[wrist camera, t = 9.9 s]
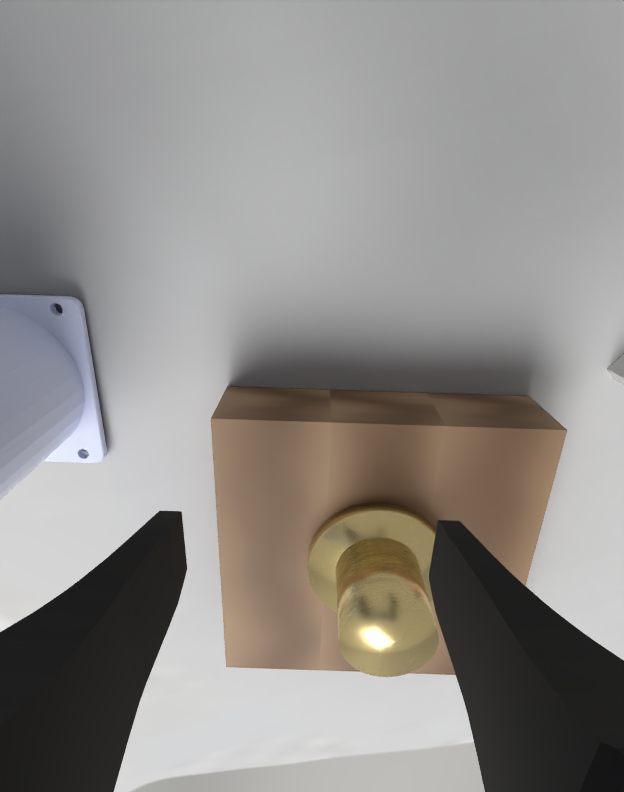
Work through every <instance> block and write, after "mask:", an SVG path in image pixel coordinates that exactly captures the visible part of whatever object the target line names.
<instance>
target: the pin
mask: <svg viewBox="0 0 624 792" xmlns="http://www.w3.org/2000/svg"><path fill="white" fill-rule="evenodd" d="M435 534H436V530H435V528H434V527H433V525H432V524H431V523H430V522H429V521H428V520H427V519H426V518H425V517H423V516H422V515H421V514H419V513H417V512H416V511H414V510H412V509H410V508H407V507H405V506H401V505H398V504H393V503H386V502H369V503H363V504H358V505H354V506H351V507H348V508H346V509H343V510H341V511H340V512H338V513H336V514H334V515H333V516H331V517H330V518H329V519H327V520H326V521H325V522H324V523H323V524H322V525H321V526H320V528H319V529H318V530H317V532H316V533H315V535H314V536H313V539H312V541H311V544H310V547H309V554H308V577H309V581H310V585H311V587H312V589H313V591H314V593H315V594H316V596H317V597H318V598H319V600H320V601H321V602H322V603H323V604H324V605H326V606H327V607H328V608H329V609H331V610H332V611H334V612H336V613H337V614H338V636H339V648H340V652H341V654H342V656H343V657H344V659H345V660H346V661H347V662H348V663H349V664H350V665H351V666H352V667H354V668H355V669H357V670H359V671H361V672H363V673H366V674H369V675H373V676H381V677H392V676H400V675H404V674H407V673H410V672H413V671H415V670H417V669H419V668H421V667H422V666H424V665H425V664H426V663H427V662H428V661H429V660H430V659H431V658H432V657H433V655H434V654H435V652H436V650H437V648H438V644H439V635H438V631H437V627H436V624H435V620H434V617H433V613H432V610H431V606H430V601H431V600H433V598H432V592H431V587H430V582H429V571H430V565H431V559H432V553H433V547H434V540H435Z"/></svg>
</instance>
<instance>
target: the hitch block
mask: <svg viewBox="0 0 624 792" xmlns="http://www.w3.org/2000/svg"><path fill="white" fill-rule="evenodd" d="M211 428H212V444H213V460H214V476H215V493H216V509H217V525H218V541H219V557H220V574H221V590H222V606H223V622H224V639H225V655H226V667H240V668H269V669H299V670H328V671H358V672H361V671H359V670H357V669H355V668H354V667H352V666H351V665H350V664H349V663H348V662H347V661H346V660H345V659H344V657H343V656H342V654H341V652H340V648H339V636H338V614H337V613H336V612H334V611H332V610H331V609H329V608H328V607H327V606H326V605H324V604H323V603H322V602H321V601H320V600H319V598H318V597H317V596H316V594H315V593H314V591H313V589H312V587H311V585H310V581H309V577H308V554H309V547H310V544H311V541H312V539H313V536H314V535H315V533H316V532H317V530H318V529H319V528H320V526H321V525H322V524H323V523H324V522H325V521H326V520H327V519H329V518H330V517H331V516H333V515H334V514H336V513H338V512H340V511H341V510H343V509H346V508H348V507H351V506H354V505H358V504H363V503H369V502H386V503H393V504H398V505H401V506H405V507H407V508H410V509H412V510H414V511H416V512H417V513H419V514H421V515H422V516H423V517H425V518H426V519H427V520H428V521H429V522H430V523H431V524H432V525H433V527H434V528H435V530H436V528H437V522H438V520H453V521H460V522H461V523H462V524H463V525H464V526H465V527H466V528H467V529H468V530H469V531H470V532H471V533H472V534H473V535H474V536H475V537H476V538H477V539H478V540H479V541H480V542H481V543H482V544H483V545H484V546H485V547H486V549H487V550H488V551H489V552H490V553H491V554H492V555H493V556H494V557H495V558H496V559H497V560H498V561H499V562H500V563H501V564H502V565H503V566H504V567H505V568H506V569H507V570H509V571H510V572H511V573H512V574H513V575H514V576H515V577H516V578H517V579H518V580H519V581H520V582H521V583H522V584H523V585H526V581H527V577H528V574H529V570H530V566H531V562H532V559H533V555H534V551H535V548H536V544H537V540H538V537H539V533H540V529H541V525H542V522H543V518H544V514H545V511H546V507H547V503H548V499H549V496H550V492H551V488H552V485H553V481H554V477H555V473H556V470H557V466H558V462H559V459H560V455H561V451H562V448H563V444H564V440H565V436H566V433H567V430H566V429H565V428H564V427H563V426H562V425H561V424H560V423H559V422H557V421H556V420H555V419H554V418H553V417H552V416H551V415H550V414H549V413H547V412H546V411H545V410H544V409H543V408H542V407H541V406H540V405H538V404H537V403H536V402H535V401H534V400H533V399H532V398H531V397H529V396H506V395H475V394H444V393H413V392H382V391H350V390H319V389H288V388H257V387H227V389H226V390H225V392H224V394H223V396H222V398H221V400H220V402H219V404H218V406H217V408H216V410H215V412H214V414H213V416H212V418H211ZM430 606H431V610H432V613H433V617H434V620H435V624H436V627H437V631H438V635H439V644H438V648H437V650H436V652H435V654H434V655H433V657H432V658H431V659H430V660H429V661H428V662H427V663H426V664H425V665H424V666H422V667H421V668H419V669H417V670H415V671H413V672H410V673H416V674H446V675H456V674H455V671H454V668H453V665H452V662H451V659H450V655H449V652H448V649H447V646H446V643H445V640H444V637H443V634H442V631H441V628H440V625H439V622H438V618H437V615H436V612H435V607H434V602H433V600H431V601H430Z"/></svg>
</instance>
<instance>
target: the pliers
mask: <svg viewBox="0 0 624 792" xmlns="http://www.w3.org/2000/svg"><path fill="white" fill-rule="evenodd" d="M607 370H608V371H609V373H610V374H611V376H612V377H613V379H615V380H617V381H619V382H620V383H622V384H624V354H623V355H622V356H621V357H619V358H618V359H617V360H616V361H615V362H614V363H613V364H612V365H611V366H610V367H609V368H608V369H607Z"/></svg>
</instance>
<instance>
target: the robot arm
mask: <svg viewBox="0 0 624 792" xmlns="http://www.w3.org/2000/svg"><path fill="white" fill-rule="evenodd" d="M56 303H57V304H59V305H60V306H61V307H62V309H63V312H62V313H59V312H58V311H57V310H56V308H55V304H56ZM82 449H84V450H86V451H87V452H88V454H89V455H87V454H84V453H83V452H82ZM106 455H107V448H106V442H105V436H104V429H103V423H102V417H101V411H100V405H99V399H98V392H97V386H96V380H95V374H94V368H93V362H92V355H91V349H90V343H89V337H88V331H87V325H86V318H85V312H84V307H83V305H82V303H81V302H80V301H79V300H78V299H77V298H75V297H71V296H44V295H12V294H0V500H1V499H2V498H3V497H4V496H5V495H6V494H7V493H8V492H10V491H11V490H12V489H13V488H14V487H15V486H16V485H17V484H18V483H19V482H21V481H22V480H23V479H24V478H25V477H26V476H27V475H28V474H29V473H30V472H32V471H33V470H34V469H35V468H36V467H37V466H38V465H39V464H40V463H41V462H42V461H53V462H84V463H98V462H101V461H102V460H103V459H104V458H105V457H106ZM186 571H187V563H186V553H185V543H184V532H183V522H182V512H179V511H159V512H158V513H157V514H156V515H155V516H154V517H152V518H151V519H150V520H149V521H148V522H147V523H146V524H145V525H144V526H142V527H141V528H140V529H139V530H138V531H137V532H136V533H135V534H134V535H133V536H131V537H130V538H129V539H128V540H127V541H126V542H125V543H124V544H123V545H121V546H120V547H119V548H118V549H117V550H116V551H115V552H113V553H112V554H111V555H110V556H109V557H108V558H106V559H105V560H104V561H103V562H102V563H100V564H99V565H98V566H97V567H95V568H94V569H93V570H92V571H90V572H89V573H88V574H87V575H85V576H84V577H83V578H82V579H80V580H79V581H78V582H77V583H75V584H74V585H73V586H71V587H70V588H69V589H67V590H66V591H64V592H63V593H62V594H60V595H59V596H57V597H56V598H54V599H53V600H51V601H50V602H48V603H47V604H46V605H44V606H43V607H41V608H40V609H38V610H36V611H35V612H33V613H32V614H30V615H28V616H27V617H25V618H23V619H22V620H20V621H18V622H17V623H15V624H13V625H12V626H10V627H8V628H7V629H5V630H3V631H2V632H0V792H114V788H115V785H116V781H117V778H118V774H119V770H120V767H121V763H122V760H123V756H124V753H125V749H126V745H127V742H128V739H129V735H130V732H131V729H132V725H133V722H134V719H135V715H136V712H137V708H138V705H139V702H140V699H141V696H142V693H143V691H144V688H145V685H146V682H147V680H148V677H149V675H150V672H151V670H152V667H153V665H154V662H155V660H156V657H157V655H158V652H159V650H160V647H161V645H162V642H163V640H164V637H165V635H166V632H167V630H168V627H169V625H170V622H171V620H172V617H173V615H174V612H175V610H176V607H177V604H178V601H179V598H180V594H181V590H182V587H183V583H184V579H185V575H186ZM429 582H430V587H431V592H432V598H433V602H434V607H435V612H436V615H437V618H438V622H439V625H440V628H441V631H442V634H443V637H444V640H445V643H446V646H447V649H448V652H449V655H450V659H451V662H452V665H453V668H454V671H455V674H456V677H457V680H458V683H459V686H460V689H461V692H462V695H463V699H464V702H465V706H466V709H467V713H468V717H469V721H470V726H471V730H472V734H473V739H474V743H475V747H476V752H477V756H478V761H479V765H480V770H481V775H482V780H483V784H484V789H485V792H624V661H623V660H622V659H620V658H619V657H617V656H616V655H614V654H613V653H611V652H610V651H608V650H607V649H605V648H604V647H603V646H601V645H600V644H598V643H597V642H595V641H594V640H592V639H591V638H589V637H588V636H587V635H585V634H584V633H582V632H581V631H580V630H578V629H577V628H576V627H574V626H573V625H572V624H571V623H569V622H568V621H567V620H565V619H564V618H563V617H561V616H560V615H559V614H558V613H556V612H555V611H554V610H552V609H551V608H550V607H549V606H548V605H546V604H545V603H544V602H543V601H542V600H541V599H539V598H538V597H537V596H536V595H535V594H534V593H533V592H531V591H530V590H529V589H528V588H527V587H526V586H525V585H523V584H522V583H521V582H520V581H519V580H518V579H517V578H516V577H515V576H514V575H513V574H512V573H511V572H510V571H509V570H507V569H506V568H505V567H504V566H503V565H502V564H501V563H500V562H499V561H498V560H497V559H496V558H495V557H494V556H493V555H492V554H491V553H490V552H489V551H488V550H487V549H486V547H485V546H484V545H483V544H482V543H481V542H480V541H479V540H478V539H477V538H476V537H475V536H474V535H473V534H472V533H471V532H470V531H469V530H468V529H467V528H466V527H465V526H464V525H463V524H462V523H461V522H460V521H453V520H438V522H437V528H436V534H435V540H434V547H433V553H432V559H431V565H430V571H429Z"/></svg>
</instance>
